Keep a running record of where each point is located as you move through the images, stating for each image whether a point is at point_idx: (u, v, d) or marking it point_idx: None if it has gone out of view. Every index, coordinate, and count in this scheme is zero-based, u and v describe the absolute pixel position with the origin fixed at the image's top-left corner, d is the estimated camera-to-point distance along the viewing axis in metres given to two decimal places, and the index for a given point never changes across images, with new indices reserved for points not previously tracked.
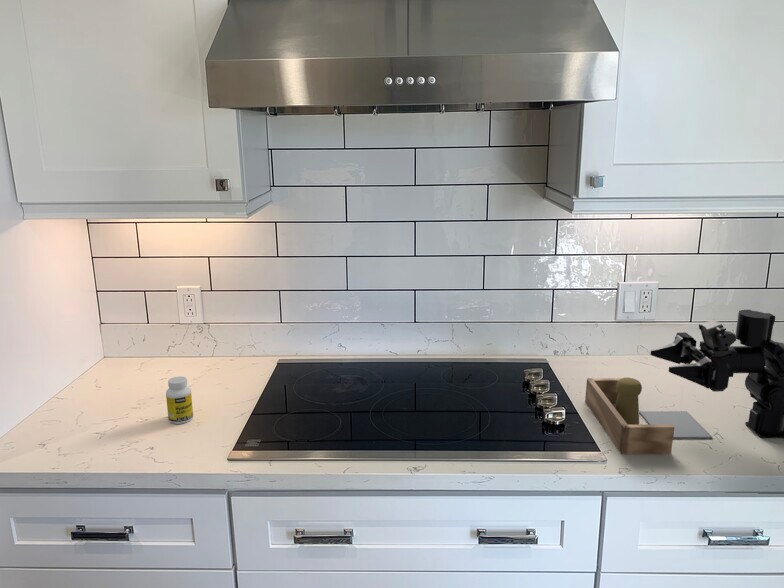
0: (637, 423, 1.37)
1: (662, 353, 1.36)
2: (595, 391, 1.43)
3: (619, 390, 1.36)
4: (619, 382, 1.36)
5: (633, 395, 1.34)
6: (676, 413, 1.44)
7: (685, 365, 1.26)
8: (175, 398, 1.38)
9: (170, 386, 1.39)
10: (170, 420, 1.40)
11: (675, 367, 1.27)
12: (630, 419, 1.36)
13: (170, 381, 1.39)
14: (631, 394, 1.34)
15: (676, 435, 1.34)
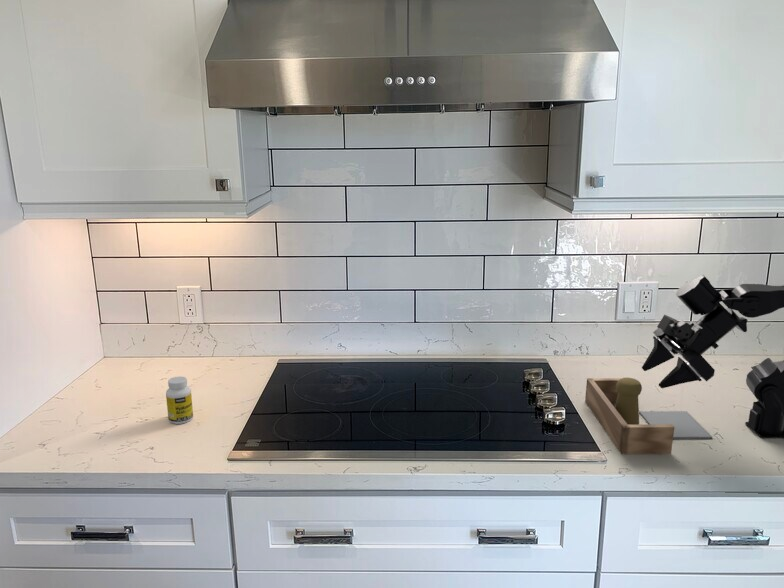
0: (637, 423, 1.37)
1: (652, 362, 1.40)
2: (595, 391, 1.43)
3: (619, 390, 1.36)
4: (619, 382, 1.36)
5: (633, 395, 1.34)
6: (676, 413, 1.44)
7: (669, 375, 1.30)
8: (175, 398, 1.38)
9: (170, 386, 1.39)
10: (170, 420, 1.40)
11: (663, 382, 1.31)
12: (630, 419, 1.36)
13: (170, 381, 1.39)
14: (631, 394, 1.34)
15: (676, 435, 1.34)
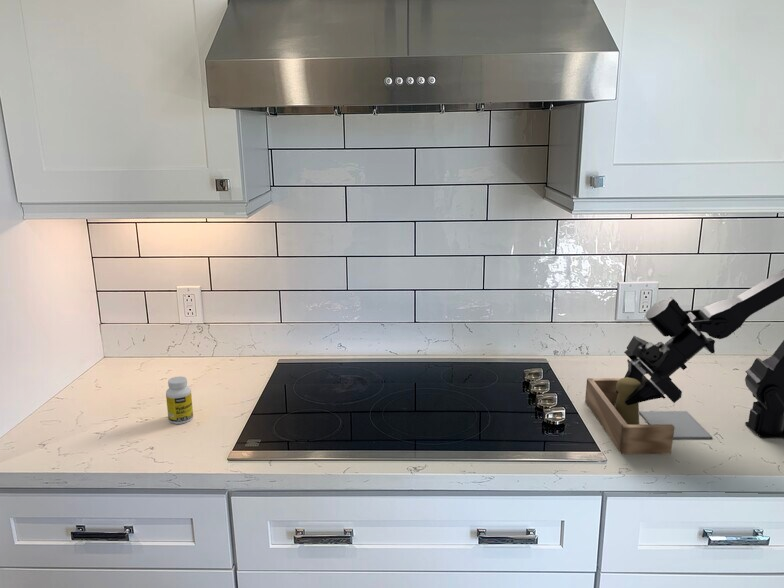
0: (637, 423, 1.37)
1: None
2: (595, 391, 1.43)
3: (619, 390, 1.36)
4: (619, 382, 1.36)
5: None
6: (676, 413, 1.44)
7: (634, 392, 1.33)
8: (175, 398, 1.38)
9: (170, 386, 1.39)
10: (170, 420, 1.40)
11: (628, 399, 1.34)
12: (630, 419, 1.36)
13: (170, 381, 1.39)
14: None
15: (676, 435, 1.34)
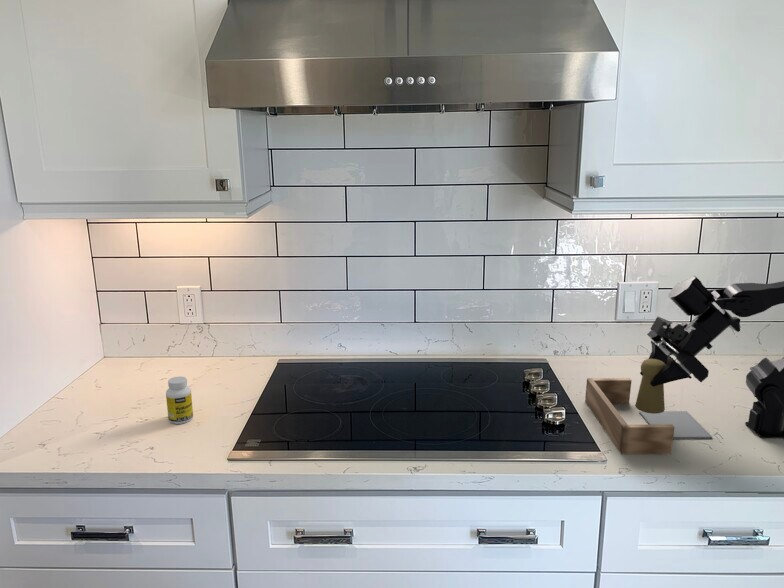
0: (662, 404, 1.35)
1: None
2: (595, 391, 1.43)
3: (644, 371, 1.35)
4: (643, 363, 1.35)
5: None
6: (676, 413, 1.44)
7: (659, 373, 1.32)
8: (175, 398, 1.38)
9: (170, 386, 1.39)
10: (170, 420, 1.40)
11: (654, 380, 1.33)
12: (655, 400, 1.34)
13: (170, 381, 1.39)
14: None
15: (676, 435, 1.34)
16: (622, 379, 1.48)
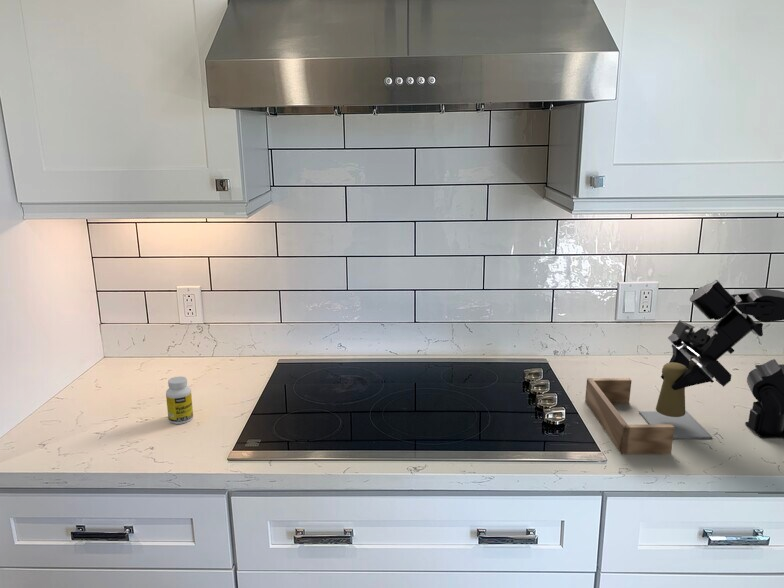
0: (683, 408, 1.36)
1: None
2: (595, 391, 1.43)
3: (665, 375, 1.35)
4: (665, 367, 1.35)
5: None
6: None
7: (681, 377, 1.32)
8: (175, 398, 1.38)
9: (170, 386, 1.39)
10: (170, 420, 1.40)
11: (675, 384, 1.33)
12: (677, 404, 1.35)
13: (170, 381, 1.39)
14: None
15: (676, 435, 1.34)
16: (622, 379, 1.48)
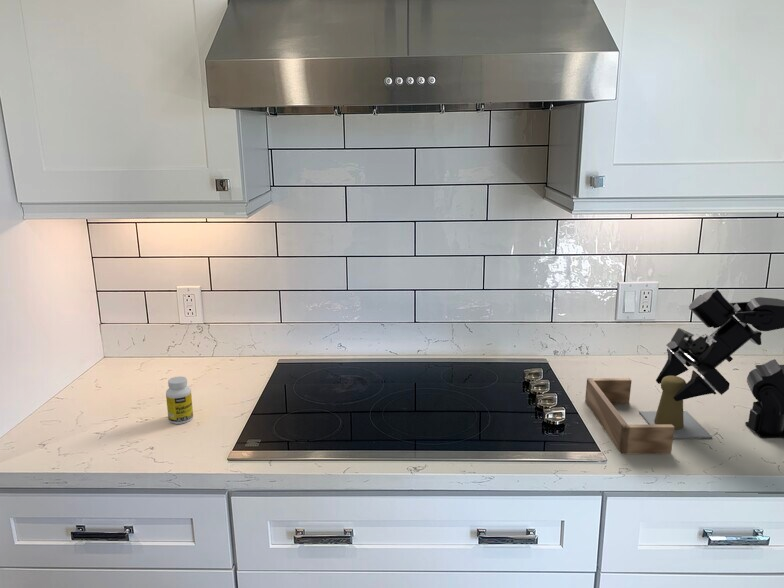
0: (682, 421, 1.37)
1: (666, 375, 1.41)
2: (595, 391, 1.43)
3: (664, 388, 1.36)
4: (664, 380, 1.36)
5: None
6: None
7: (683, 388, 1.31)
8: (175, 398, 1.38)
9: (170, 386, 1.39)
10: (170, 420, 1.40)
11: (677, 395, 1.32)
12: (675, 417, 1.36)
13: (170, 381, 1.39)
14: (676, 392, 1.34)
15: (676, 435, 1.34)
16: (622, 379, 1.48)
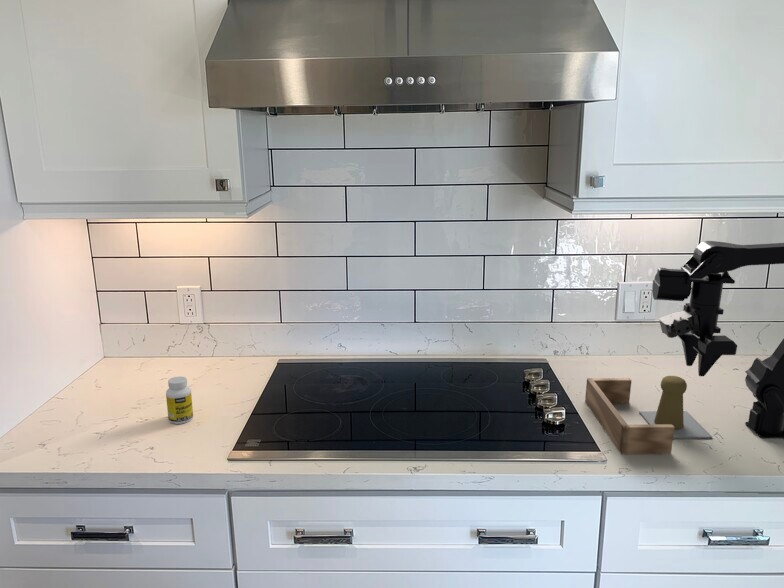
0: (682, 421, 1.37)
1: (691, 355, 1.38)
2: (595, 391, 1.43)
3: (664, 388, 1.36)
4: (664, 380, 1.36)
5: (678, 393, 1.34)
6: None
7: (699, 364, 1.31)
8: (175, 398, 1.38)
9: (170, 386, 1.39)
10: (170, 420, 1.40)
11: (700, 372, 1.32)
12: (675, 417, 1.36)
13: (170, 381, 1.39)
14: (676, 392, 1.34)
15: (676, 435, 1.34)
16: (622, 379, 1.48)
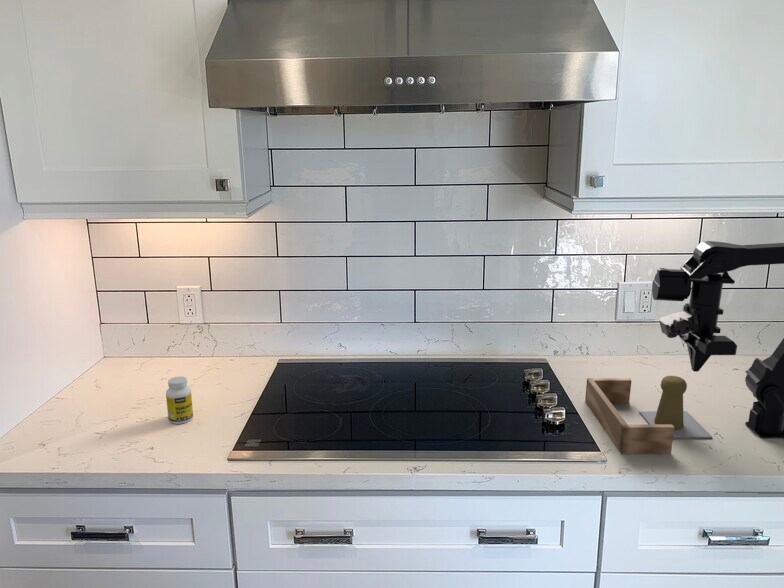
0: (682, 421, 1.37)
1: None
2: (595, 391, 1.43)
3: (664, 388, 1.36)
4: (664, 380, 1.36)
5: (678, 393, 1.34)
6: None
7: (693, 359, 1.34)
8: (175, 398, 1.38)
9: (170, 386, 1.39)
10: (170, 420, 1.40)
11: (694, 367, 1.35)
12: (675, 417, 1.36)
13: (170, 381, 1.39)
14: (676, 392, 1.34)
15: (676, 435, 1.34)
16: (622, 379, 1.48)
